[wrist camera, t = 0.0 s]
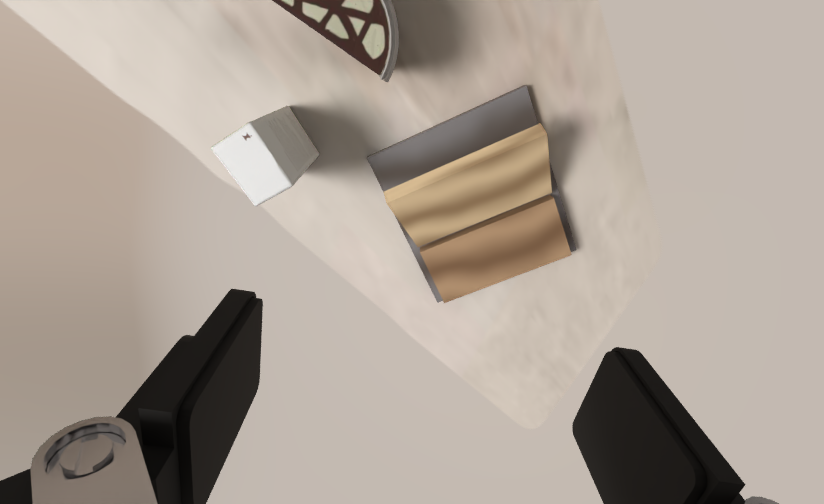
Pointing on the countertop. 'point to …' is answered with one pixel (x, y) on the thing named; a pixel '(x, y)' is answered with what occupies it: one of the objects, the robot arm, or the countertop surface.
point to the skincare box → (267, 154)
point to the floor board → (492, 238)
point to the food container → (354, 28)
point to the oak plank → (474, 187)
